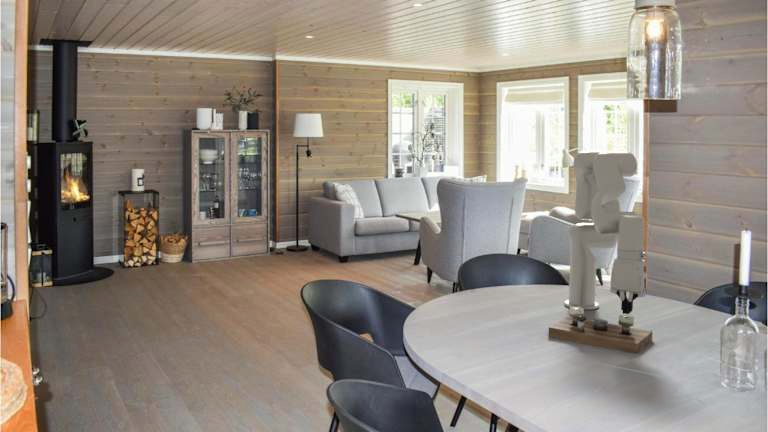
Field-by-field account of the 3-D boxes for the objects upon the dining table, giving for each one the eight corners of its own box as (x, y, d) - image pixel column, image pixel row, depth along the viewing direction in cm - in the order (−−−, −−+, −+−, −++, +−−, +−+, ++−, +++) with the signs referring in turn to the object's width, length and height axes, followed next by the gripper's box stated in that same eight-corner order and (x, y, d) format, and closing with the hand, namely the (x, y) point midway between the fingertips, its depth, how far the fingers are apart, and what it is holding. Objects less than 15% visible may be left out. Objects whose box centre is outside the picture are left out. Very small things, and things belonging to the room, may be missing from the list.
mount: (567, 325, 238) (567, 316, 238) (652, 340, 222) (652, 331, 222) (548, 336, 226) (548, 327, 225) (636, 353, 209) (637, 343, 209)
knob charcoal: (595, 334, 227) (596, 318, 226) (609, 336, 224) (609, 320, 224) (590, 337, 223) (591, 321, 223) (604, 340, 221) (605, 323, 220)
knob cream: (572, 321, 231) (572, 306, 231) (585, 324, 229) (585, 308, 228) (567, 324, 228) (567, 308, 227) (580, 327, 225) (580, 311, 224)
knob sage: (620, 330, 222) (621, 314, 221) (634, 332, 219) (635, 316, 219) (616, 333, 218) (617, 317, 218) (630, 336, 216) (631, 319, 215)
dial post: (577, 329, 223) (578, 314, 222) (587, 331, 221) (588, 316, 220) (573, 331, 220) (574, 316, 220) (583, 333, 218) (584, 318, 218)
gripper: (658, 256, 214) (654, 314, 216) (609, 250, 223) (606, 306, 225) (651, 259, 208) (647, 319, 210) (601, 254, 217) (598, 311, 219)
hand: (626, 312), depth 218 cm, fingers closed
